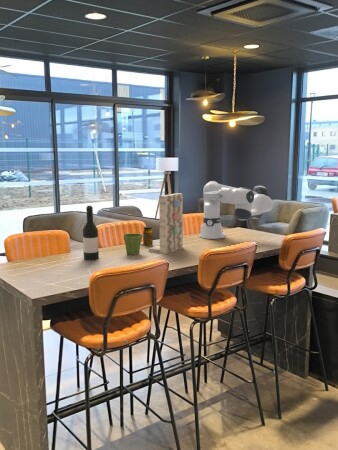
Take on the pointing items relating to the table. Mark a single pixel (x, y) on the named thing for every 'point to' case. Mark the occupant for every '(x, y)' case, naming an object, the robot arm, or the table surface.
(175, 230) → the sage button
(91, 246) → the wine bottle
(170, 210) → the tall patterned box
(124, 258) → the table surface
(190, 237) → the table surface
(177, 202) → the slate button
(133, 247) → the plant pot
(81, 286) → the table surface
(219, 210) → the robot arm
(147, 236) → the condiment
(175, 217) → the terracotta button
